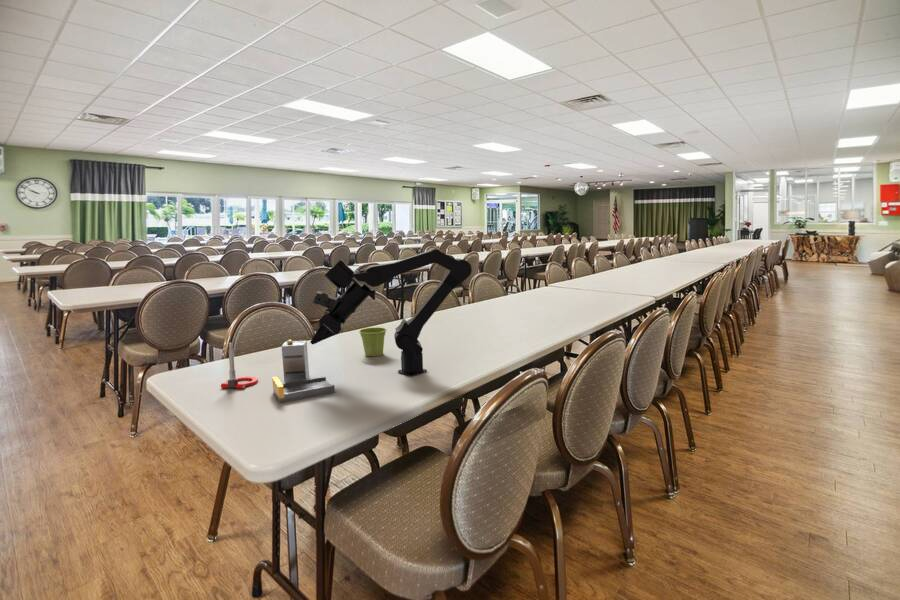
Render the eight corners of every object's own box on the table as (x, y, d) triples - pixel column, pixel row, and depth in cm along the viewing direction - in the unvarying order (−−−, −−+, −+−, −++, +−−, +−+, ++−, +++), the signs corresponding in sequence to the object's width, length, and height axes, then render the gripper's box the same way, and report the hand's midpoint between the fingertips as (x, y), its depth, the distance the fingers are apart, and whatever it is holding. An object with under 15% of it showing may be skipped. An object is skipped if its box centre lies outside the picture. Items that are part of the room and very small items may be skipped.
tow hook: (237, 379, 139) (217, 389, 130) (235, 337, 138) (214, 343, 128) (263, 380, 138) (245, 390, 128) (261, 337, 136) (242, 343, 127)
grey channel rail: (325, 382, 133) (324, 368, 132) (334, 392, 125) (333, 377, 124) (273, 392, 126) (272, 377, 125) (279, 403, 118) (278, 387, 117)
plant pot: (355, 354, 162) (353, 330, 161) (377, 349, 169) (376, 326, 167) (369, 359, 156) (368, 334, 154) (393, 354, 162) (392, 329, 160)
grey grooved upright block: (309, 376, 139) (306, 337, 137) (306, 382, 133) (303, 341, 132) (288, 378, 138) (285, 338, 136) (284, 384, 133) (281, 342, 131)
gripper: (332, 277, 142) (297, 315, 142) (325, 284, 124) (285, 327, 124) (360, 302, 144) (325, 339, 144) (357, 313, 126) (317, 355, 126)
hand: (313, 339), depth 135 cm, fingers open, 9 cm apart
